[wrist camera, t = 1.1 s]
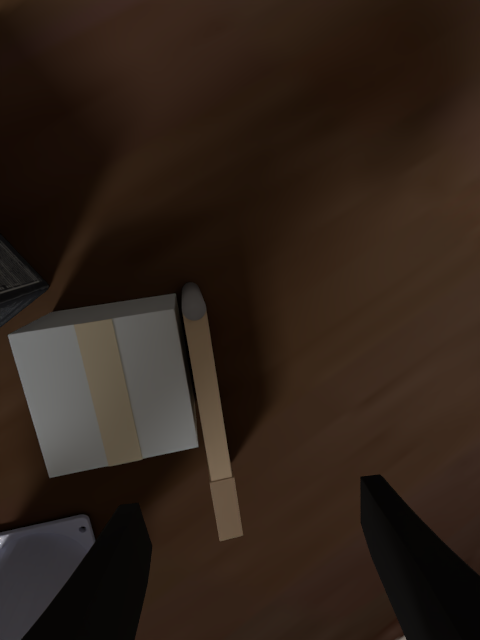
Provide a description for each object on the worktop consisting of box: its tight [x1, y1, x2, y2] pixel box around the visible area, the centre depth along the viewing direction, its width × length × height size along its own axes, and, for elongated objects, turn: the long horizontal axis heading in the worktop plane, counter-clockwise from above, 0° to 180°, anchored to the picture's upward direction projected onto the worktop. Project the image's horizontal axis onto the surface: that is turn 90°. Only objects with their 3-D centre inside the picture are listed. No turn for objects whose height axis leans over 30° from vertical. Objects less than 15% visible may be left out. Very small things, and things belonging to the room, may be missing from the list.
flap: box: [182, 282, 243, 541], centre depth 22 cm, size 15×1×7 cm, turn 7°
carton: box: [8, 293, 198, 478], centre depth 21 cm, size 8×8×6 cm
